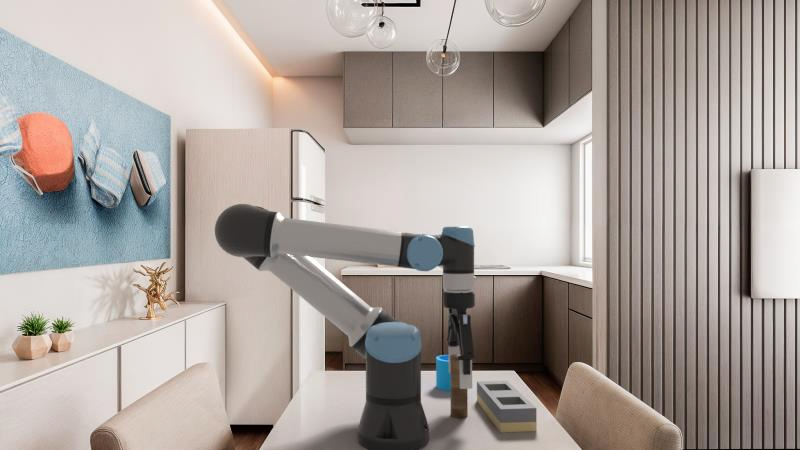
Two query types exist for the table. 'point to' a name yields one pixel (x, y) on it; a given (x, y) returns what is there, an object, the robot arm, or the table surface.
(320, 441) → the table surface
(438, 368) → the mug
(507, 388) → the rail
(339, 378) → the table surface
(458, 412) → the peg
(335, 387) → the table surface
